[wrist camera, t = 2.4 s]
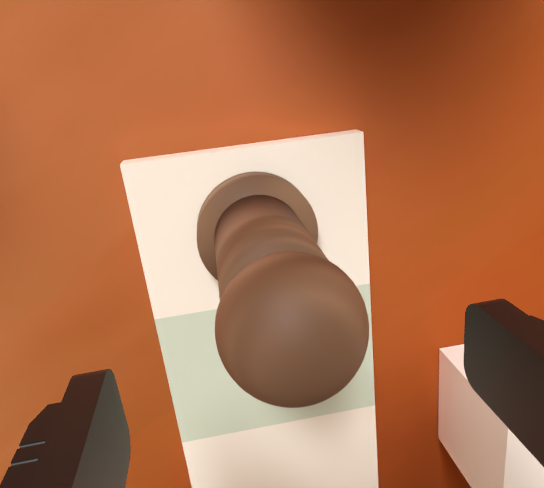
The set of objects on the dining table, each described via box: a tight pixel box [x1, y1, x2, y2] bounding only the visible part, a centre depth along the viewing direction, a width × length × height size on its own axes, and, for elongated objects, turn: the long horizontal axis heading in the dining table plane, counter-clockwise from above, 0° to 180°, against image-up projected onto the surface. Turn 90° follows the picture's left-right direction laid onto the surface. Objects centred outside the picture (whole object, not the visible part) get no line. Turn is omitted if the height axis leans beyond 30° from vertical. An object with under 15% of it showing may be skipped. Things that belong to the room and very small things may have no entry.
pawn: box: [197, 171, 369, 408], centre depth 15 cm, size 5×5×11 cm
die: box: [438, 344, 544, 488], centre depth 24 cm, size 6×6×6 cm
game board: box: [120, 130, 378, 488], centre depth 24 cm, size 10×28×1 cm, turn 7°
